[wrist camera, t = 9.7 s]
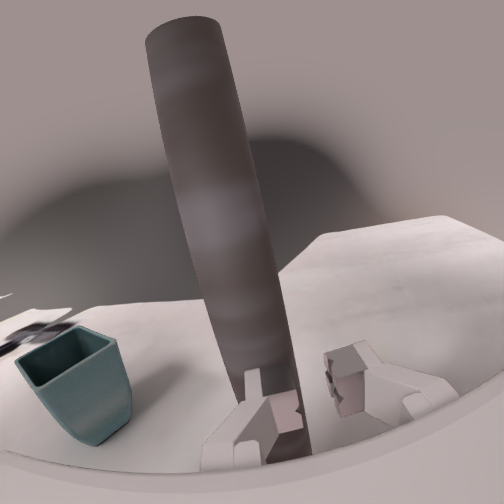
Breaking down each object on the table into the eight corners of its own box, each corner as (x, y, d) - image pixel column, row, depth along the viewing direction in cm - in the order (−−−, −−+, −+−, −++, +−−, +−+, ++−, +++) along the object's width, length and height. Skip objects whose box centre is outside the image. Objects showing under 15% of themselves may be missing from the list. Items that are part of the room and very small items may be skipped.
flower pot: (156, 416, 24) (118, 338, 22) (92, 469, 17) (33, 391, 15) (110, 390, 29) (78, 323, 27) (55, 429, 22) (12, 360, 20)
